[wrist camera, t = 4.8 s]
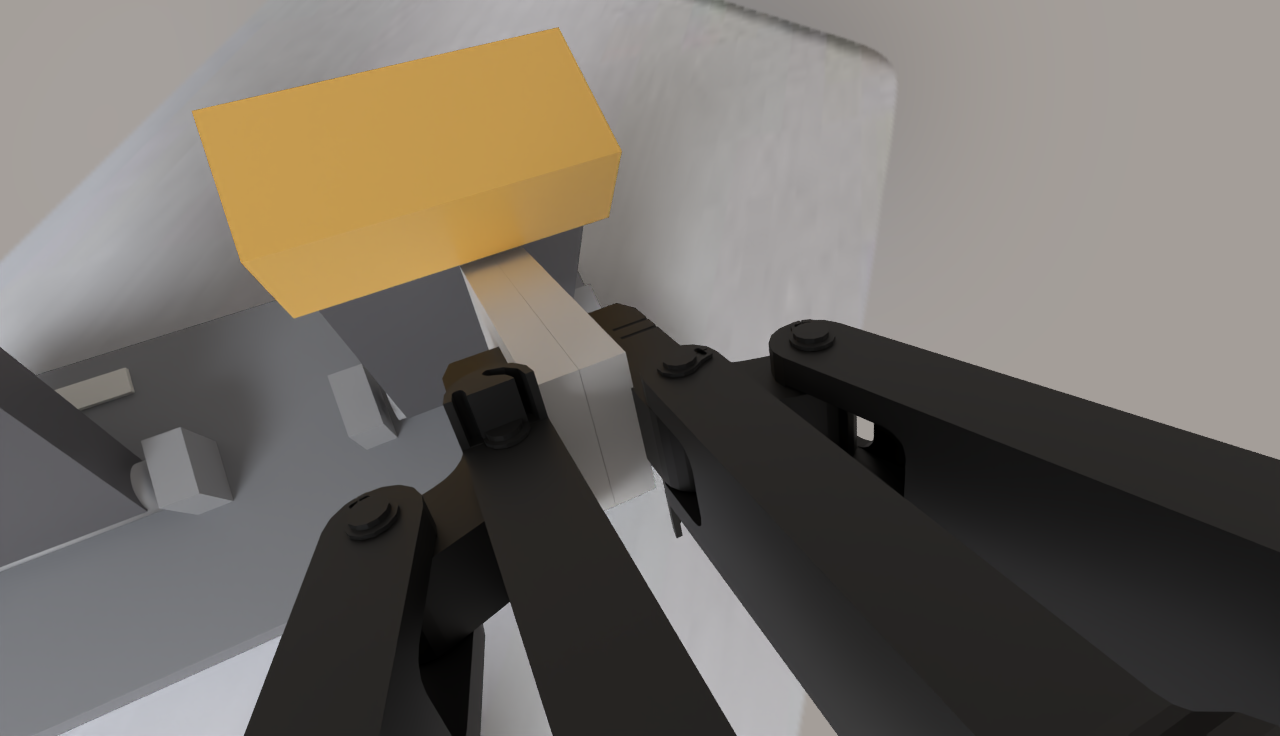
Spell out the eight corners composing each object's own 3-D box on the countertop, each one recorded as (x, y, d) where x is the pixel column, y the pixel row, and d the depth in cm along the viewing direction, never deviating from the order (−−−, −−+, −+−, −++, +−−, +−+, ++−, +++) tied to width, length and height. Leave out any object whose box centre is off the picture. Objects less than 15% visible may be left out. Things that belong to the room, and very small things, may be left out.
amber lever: (577, 375, 26) (621, 151, 12) (409, 441, 24) (240, 262, 10) (547, 309, 27) (558, 27, 13) (382, 368, 25) (192, 111, 11)
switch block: (29, 747, 24) (-184, 823, 17) (-30, 457, 26) (-236, 417, 19) (643, 472, 31) (676, 444, 24) (549, 264, 33) (553, 182, 26)
